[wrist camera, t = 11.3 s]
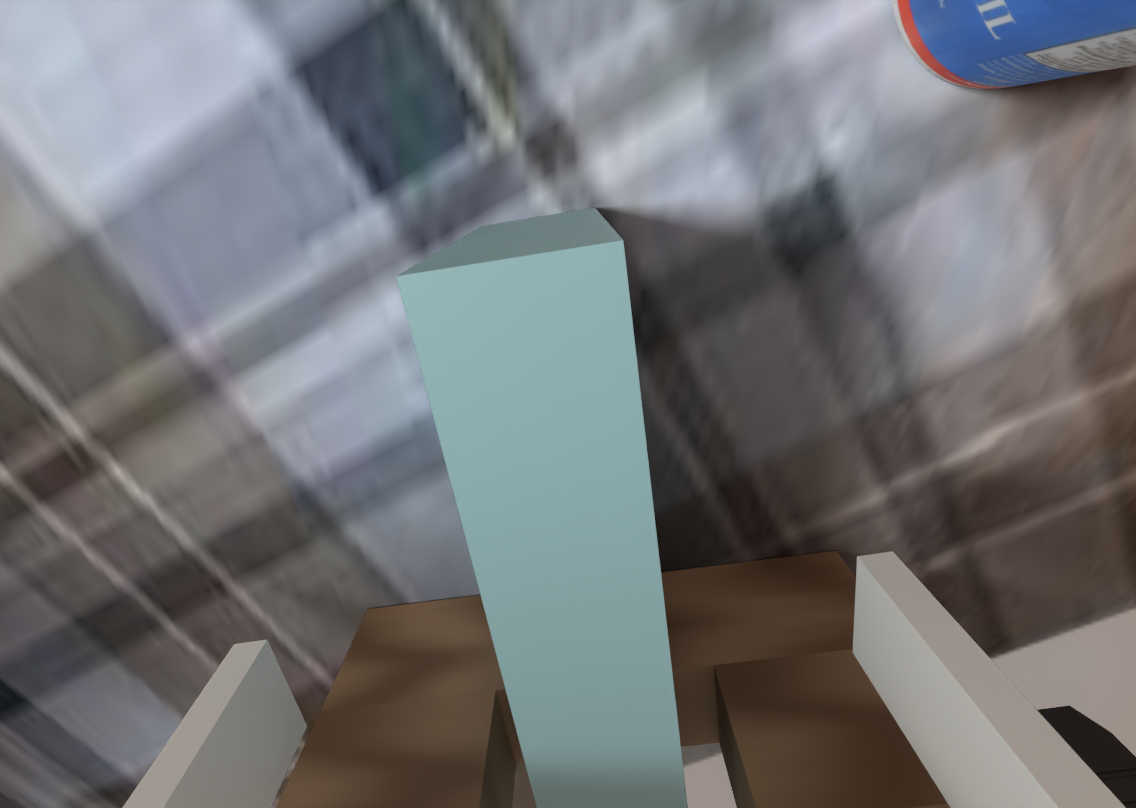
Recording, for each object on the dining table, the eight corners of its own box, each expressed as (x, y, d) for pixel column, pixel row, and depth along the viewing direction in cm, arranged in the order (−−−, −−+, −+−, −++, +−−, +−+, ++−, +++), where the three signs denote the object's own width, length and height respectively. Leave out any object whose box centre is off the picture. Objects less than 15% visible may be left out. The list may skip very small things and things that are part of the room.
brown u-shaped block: (390, 672, 21) (291, 950, 13) (367, 609, 20) (246, 873, 12) (834, 620, 20) (994, 888, 12) (836, 550, 19) (1013, 797, 11)
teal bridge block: (580, 714, 21) (587, 998, 14) (481, 226, 15) (395, 276, 7) (659, 706, 21) (708, 989, 14) (595, 208, 15) (623, 240, 7)
